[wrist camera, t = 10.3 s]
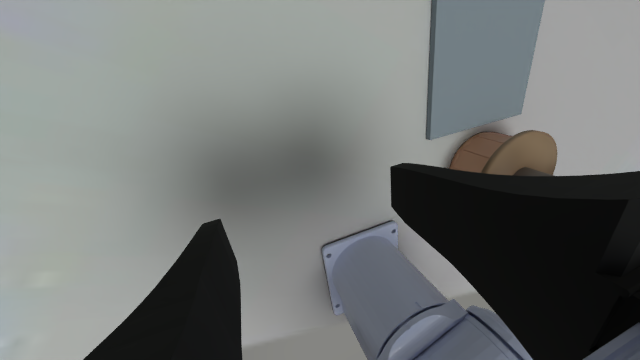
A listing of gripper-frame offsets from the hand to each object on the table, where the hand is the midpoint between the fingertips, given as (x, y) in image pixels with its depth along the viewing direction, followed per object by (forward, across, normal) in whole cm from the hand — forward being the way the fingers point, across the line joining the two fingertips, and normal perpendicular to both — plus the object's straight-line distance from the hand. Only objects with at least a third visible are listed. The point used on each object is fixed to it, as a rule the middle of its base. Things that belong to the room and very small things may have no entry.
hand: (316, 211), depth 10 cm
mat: (+9, -19, -3) cm, 21 cm away
